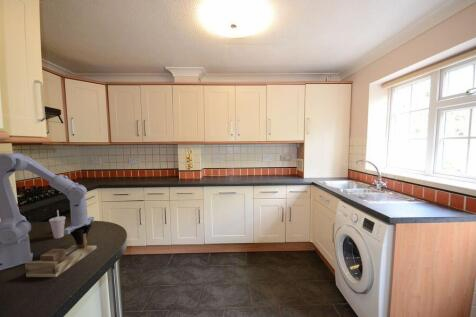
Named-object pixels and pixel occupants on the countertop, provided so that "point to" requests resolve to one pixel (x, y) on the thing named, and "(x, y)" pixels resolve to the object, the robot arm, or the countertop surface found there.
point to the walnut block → (61, 252)
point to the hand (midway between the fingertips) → (81, 242)
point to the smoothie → (57, 225)
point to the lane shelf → (56, 263)
